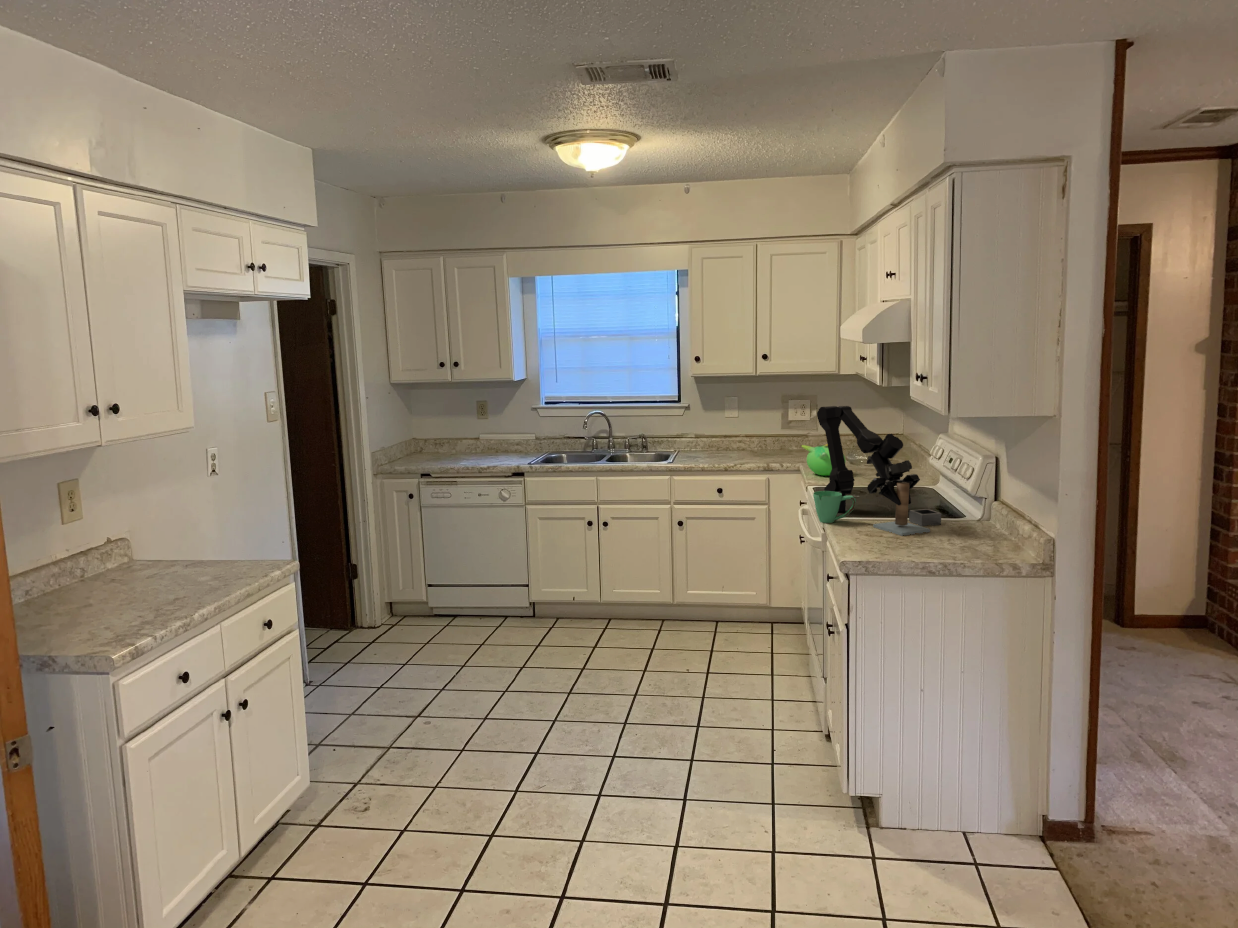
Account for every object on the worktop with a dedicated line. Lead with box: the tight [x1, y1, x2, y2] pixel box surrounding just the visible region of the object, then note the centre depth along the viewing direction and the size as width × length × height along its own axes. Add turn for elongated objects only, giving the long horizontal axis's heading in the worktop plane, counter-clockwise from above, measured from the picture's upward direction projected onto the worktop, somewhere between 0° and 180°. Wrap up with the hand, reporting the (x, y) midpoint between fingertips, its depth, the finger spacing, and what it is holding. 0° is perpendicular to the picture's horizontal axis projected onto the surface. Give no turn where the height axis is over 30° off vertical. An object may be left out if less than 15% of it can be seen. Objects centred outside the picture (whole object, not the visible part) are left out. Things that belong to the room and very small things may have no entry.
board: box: [872, 520, 931, 537], centre depth 298 cm, size 14×12×1 cm
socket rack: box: [908, 508, 942, 527], centre depth 306 cm, size 8×8×4 cm
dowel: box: [894, 482, 910, 525], centre depth 296 cm, size 4×4×14 cm
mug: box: [812, 490, 857, 524], centre depth 309 cm, size 15×10×10 cm
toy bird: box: [801, 443, 846, 477], centre depth 401 cm, size 18×17×15 cm
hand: (905, 504), depth 295 cm, fingers closed on dowel, 4 cm apart
